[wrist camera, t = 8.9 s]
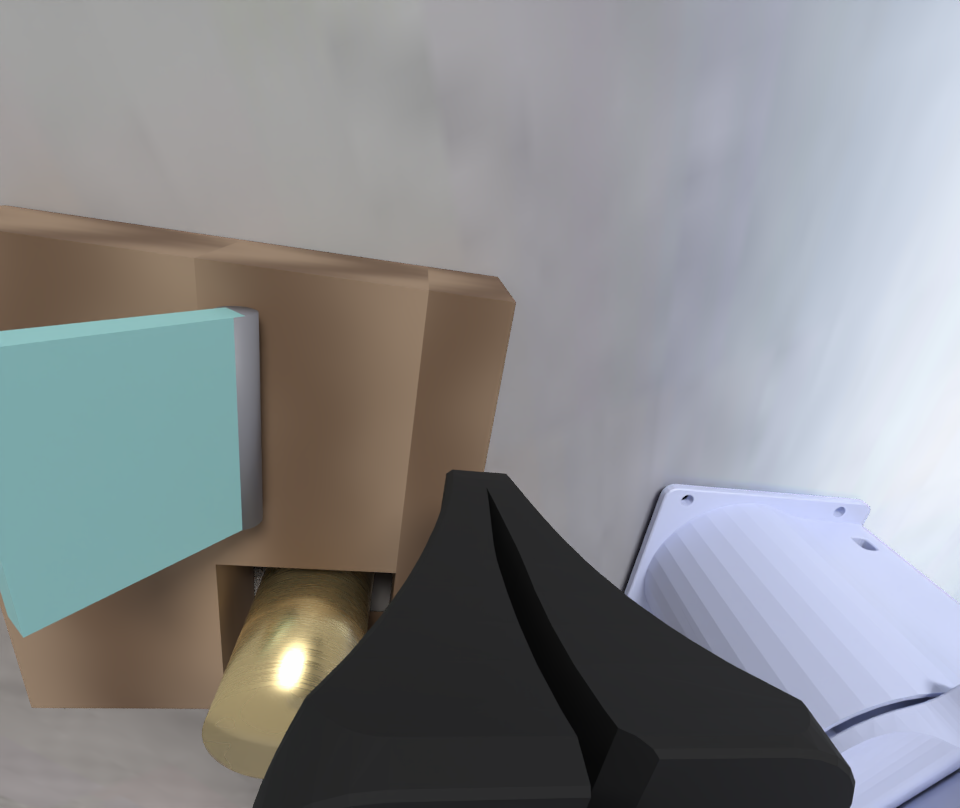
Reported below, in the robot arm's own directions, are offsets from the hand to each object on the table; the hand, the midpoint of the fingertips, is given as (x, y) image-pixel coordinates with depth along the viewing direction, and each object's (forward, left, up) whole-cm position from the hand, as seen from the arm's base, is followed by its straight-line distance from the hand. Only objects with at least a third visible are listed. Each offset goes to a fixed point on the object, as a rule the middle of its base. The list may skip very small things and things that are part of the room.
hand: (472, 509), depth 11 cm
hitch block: (+6, +4, -7) cm, 10 cm away
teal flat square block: (+8, 0, -2) cm, 8 cm away
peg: (+4, +8, -7) cm, 11 cm away
